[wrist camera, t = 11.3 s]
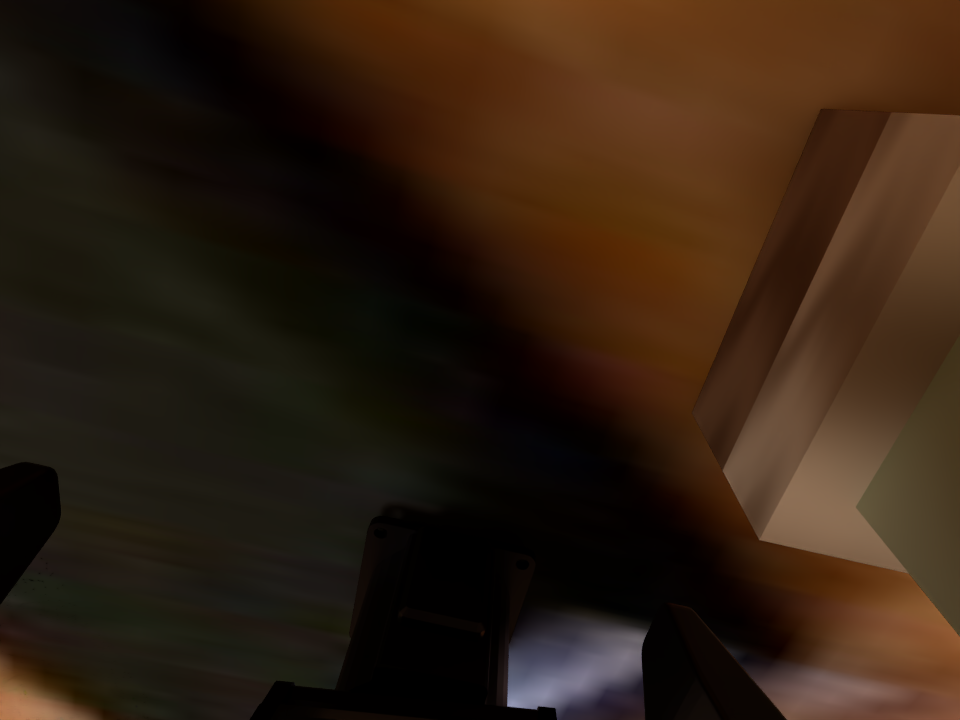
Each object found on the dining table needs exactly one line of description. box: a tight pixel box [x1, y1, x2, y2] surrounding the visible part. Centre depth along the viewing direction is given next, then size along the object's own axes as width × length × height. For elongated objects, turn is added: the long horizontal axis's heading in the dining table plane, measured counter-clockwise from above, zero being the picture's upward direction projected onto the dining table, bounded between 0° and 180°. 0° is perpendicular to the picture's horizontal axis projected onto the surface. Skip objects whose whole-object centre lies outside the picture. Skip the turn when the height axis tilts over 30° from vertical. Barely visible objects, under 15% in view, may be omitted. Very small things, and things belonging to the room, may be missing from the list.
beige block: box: [692, 109, 960, 573], centre depth 16 cm, size 10×8×6 cm
